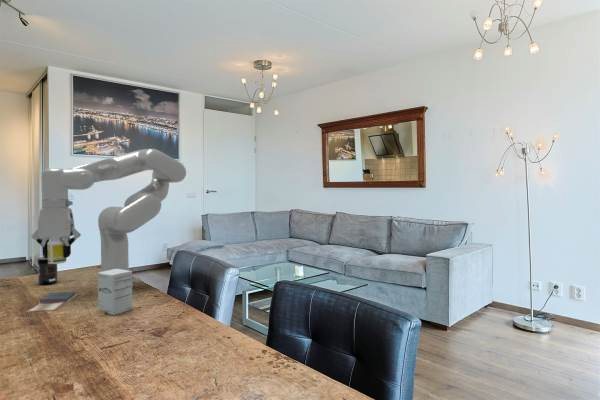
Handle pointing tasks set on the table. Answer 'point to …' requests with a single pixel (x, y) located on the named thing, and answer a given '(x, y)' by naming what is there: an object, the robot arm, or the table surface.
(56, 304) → the stamping board
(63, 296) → the ink pad
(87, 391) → the table surface
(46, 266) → the supplement container
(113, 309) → the supplement box
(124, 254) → the robot arm
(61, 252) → the supplement bottle
